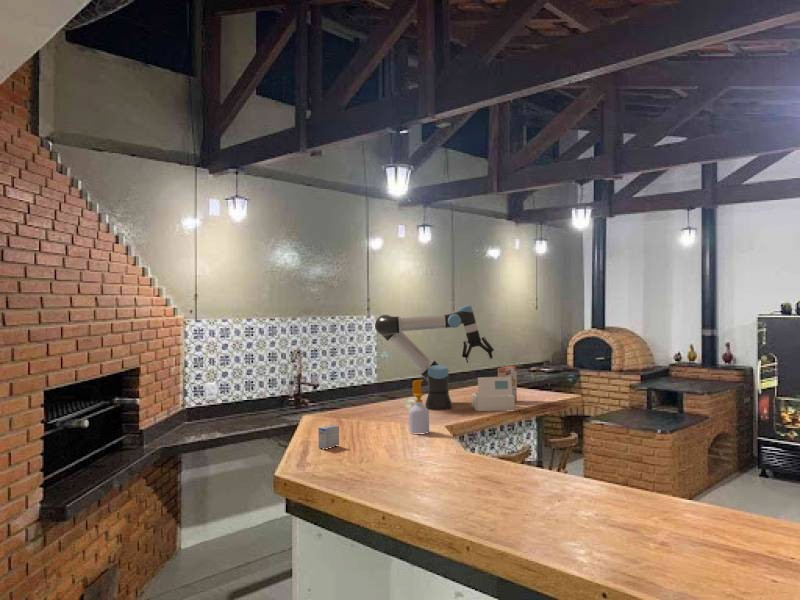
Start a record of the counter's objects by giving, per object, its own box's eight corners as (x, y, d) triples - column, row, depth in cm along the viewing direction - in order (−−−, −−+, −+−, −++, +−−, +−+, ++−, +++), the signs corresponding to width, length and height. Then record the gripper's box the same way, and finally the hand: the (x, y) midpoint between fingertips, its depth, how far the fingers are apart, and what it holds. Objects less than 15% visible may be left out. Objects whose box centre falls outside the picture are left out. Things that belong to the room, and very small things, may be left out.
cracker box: (506, 404, 335) (506, 368, 335) (497, 403, 338) (496, 368, 339) (517, 401, 346) (517, 366, 346) (508, 400, 350) (507, 365, 350)
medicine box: (332, 444, 246) (331, 424, 246) (339, 446, 243) (339, 425, 243) (318, 448, 240) (318, 427, 240) (325, 450, 237) (325, 429, 237)
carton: (476, 411, 315) (476, 396, 315) (472, 406, 331) (471, 392, 332) (515, 410, 315) (515, 396, 315) (509, 405, 332) (508, 391, 332)
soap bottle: (412, 435, 261) (412, 381, 261) (407, 431, 270) (406, 378, 270) (431, 434, 263) (430, 380, 263) (425, 429, 272) (424, 377, 272)
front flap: (478, 396, 315) (478, 395, 314) (477, 377, 317) (477, 377, 317) (512, 395, 315) (512, 395, 314) (511, 377, 318) (511, 376, 317)
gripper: (493, 326, 339) (502, 360, 339) (456, 334, 353) (465, 367, 353) (488, 328, 333) (497, 363, 333) (450, 336, 346) (460, 370, 346)
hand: (481, 365), depth 343 cm, fingers open, 13 cm apart
